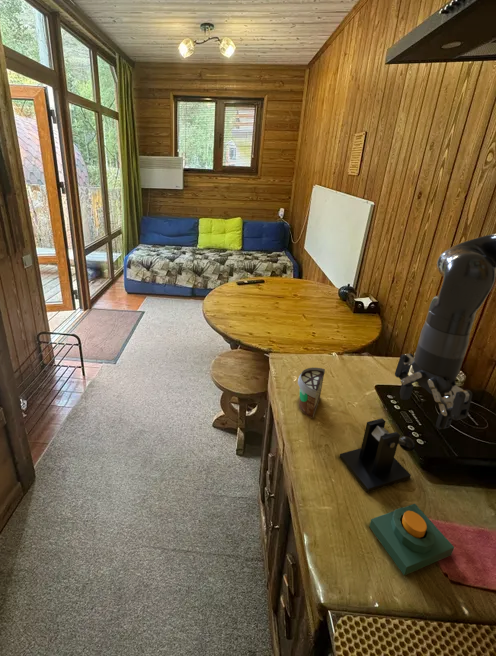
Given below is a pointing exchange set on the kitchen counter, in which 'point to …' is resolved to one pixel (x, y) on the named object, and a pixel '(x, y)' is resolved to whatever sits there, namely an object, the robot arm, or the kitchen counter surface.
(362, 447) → the bracket
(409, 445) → the lever
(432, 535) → the button panel
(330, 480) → the kitchen counter surface
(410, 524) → the button
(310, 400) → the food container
